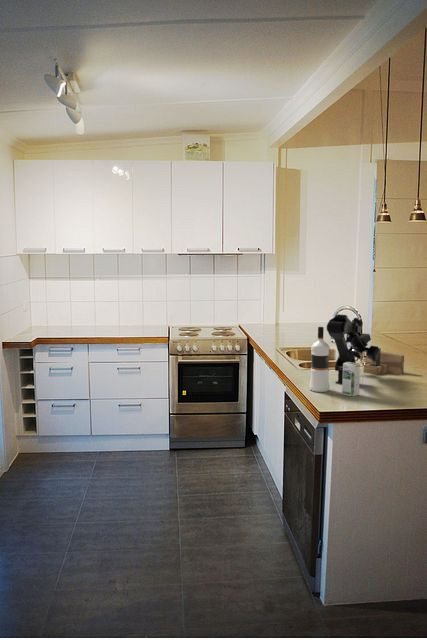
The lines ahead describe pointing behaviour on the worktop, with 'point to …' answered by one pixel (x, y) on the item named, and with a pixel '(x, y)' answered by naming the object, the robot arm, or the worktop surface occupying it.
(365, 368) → the wooden socket
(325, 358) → the vodka
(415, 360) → the worktop surface
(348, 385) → the syrup box
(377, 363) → the grey bar
